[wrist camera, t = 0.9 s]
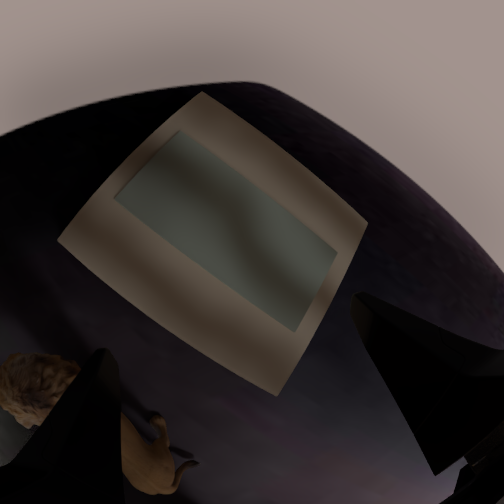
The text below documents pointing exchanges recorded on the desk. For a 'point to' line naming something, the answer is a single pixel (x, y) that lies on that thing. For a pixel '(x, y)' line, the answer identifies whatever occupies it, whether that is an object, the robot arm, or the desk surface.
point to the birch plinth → (220, 240)
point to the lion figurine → (48, 393)
